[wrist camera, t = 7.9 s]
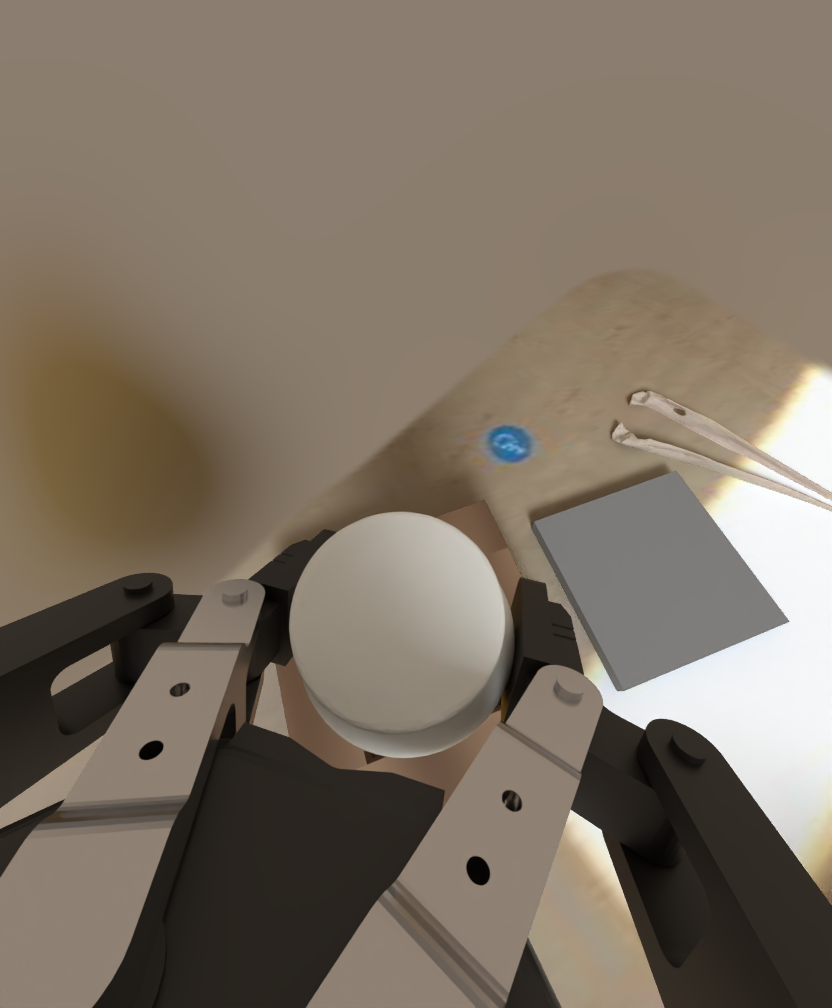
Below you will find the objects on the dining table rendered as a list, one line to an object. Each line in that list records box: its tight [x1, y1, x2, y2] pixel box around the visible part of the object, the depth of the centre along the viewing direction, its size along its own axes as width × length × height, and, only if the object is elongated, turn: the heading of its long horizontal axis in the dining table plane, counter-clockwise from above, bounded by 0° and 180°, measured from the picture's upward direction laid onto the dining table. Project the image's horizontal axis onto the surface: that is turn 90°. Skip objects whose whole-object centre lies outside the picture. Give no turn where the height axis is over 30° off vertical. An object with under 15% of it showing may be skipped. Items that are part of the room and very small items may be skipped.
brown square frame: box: [276, 500, 522, 809], centre depth 19 cm, size 12×12×2 cm
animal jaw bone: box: [612, 390, 832, 511], centre depth 24 cm, size 17×5×2 cm, turn 58°
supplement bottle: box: [289, 512, 515, 758], centre depth 12 cm, size 5×5×10 cm
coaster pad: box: [531, 471, 789, 691], centre depth 21 cm, size 9×9×1 cm
